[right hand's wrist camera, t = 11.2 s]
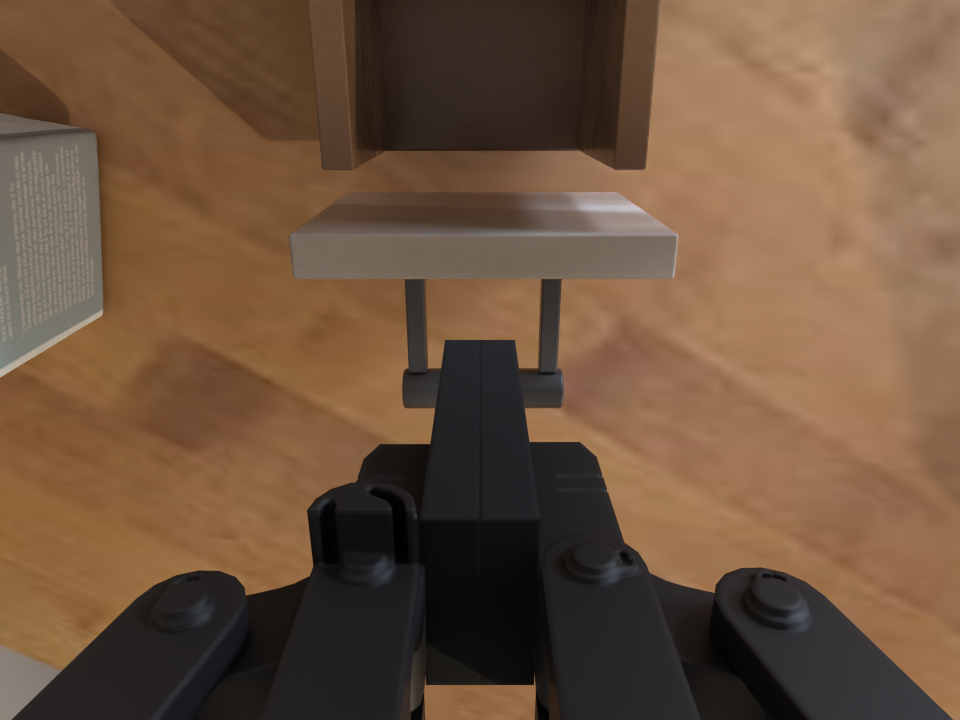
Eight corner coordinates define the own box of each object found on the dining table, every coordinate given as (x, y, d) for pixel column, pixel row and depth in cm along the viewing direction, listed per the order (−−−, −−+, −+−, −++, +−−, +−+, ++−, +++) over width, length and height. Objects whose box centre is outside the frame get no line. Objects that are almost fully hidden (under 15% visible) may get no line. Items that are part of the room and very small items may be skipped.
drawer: (606, 358, 27) (655, 459, 19) (359, 359, 27) (311, 460, 19) (669, -496, 18) (808, -930, 10) (296, -495, 18) (162, -929, 10)
